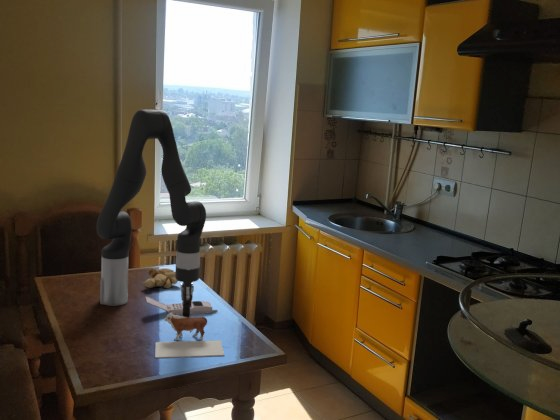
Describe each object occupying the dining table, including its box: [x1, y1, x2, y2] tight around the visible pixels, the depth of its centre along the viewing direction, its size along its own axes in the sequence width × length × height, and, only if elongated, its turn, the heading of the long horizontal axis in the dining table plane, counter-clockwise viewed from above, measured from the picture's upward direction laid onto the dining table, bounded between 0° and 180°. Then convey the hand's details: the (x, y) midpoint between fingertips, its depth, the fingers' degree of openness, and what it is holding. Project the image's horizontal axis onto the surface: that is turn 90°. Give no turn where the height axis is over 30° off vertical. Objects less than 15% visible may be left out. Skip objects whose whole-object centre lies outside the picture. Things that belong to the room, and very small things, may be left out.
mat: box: [154, 339, 225, 359], centre depth 162 cm, size 20×10×1 cm, turn 102°
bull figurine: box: [163, 313, 208, 342], centre depth 168 cm, size 4×13×8 cm, turn 95°
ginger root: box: [142, 267, 179, 289], centre depth 217 cm, size 16×16×8 cm
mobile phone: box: [144, 295, 218, 316], centre depth 189 cm, size 6×6×25 cm
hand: (186, 316), depth 172 cm, fingers closed
